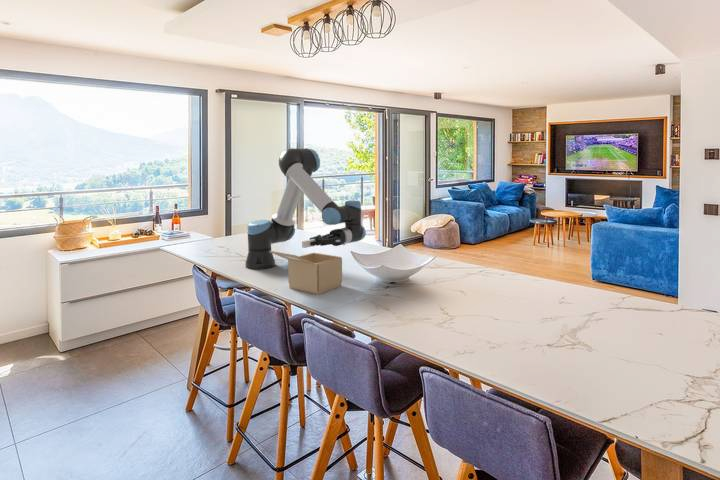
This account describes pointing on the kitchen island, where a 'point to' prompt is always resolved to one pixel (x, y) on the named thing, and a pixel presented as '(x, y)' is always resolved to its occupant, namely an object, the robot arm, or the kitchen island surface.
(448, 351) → the kitchen island surface
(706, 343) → the kitchen island surface
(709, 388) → the kitchen island surface
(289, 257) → the front flap
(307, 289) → the carton
